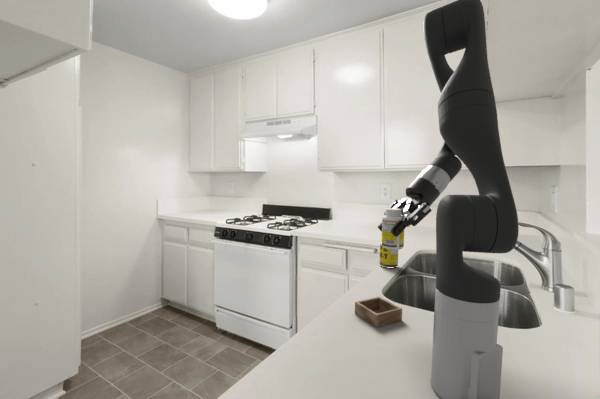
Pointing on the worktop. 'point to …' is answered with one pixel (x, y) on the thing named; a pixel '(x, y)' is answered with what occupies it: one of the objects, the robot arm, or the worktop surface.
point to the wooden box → (378, 319)
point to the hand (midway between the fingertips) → (386, 231)
